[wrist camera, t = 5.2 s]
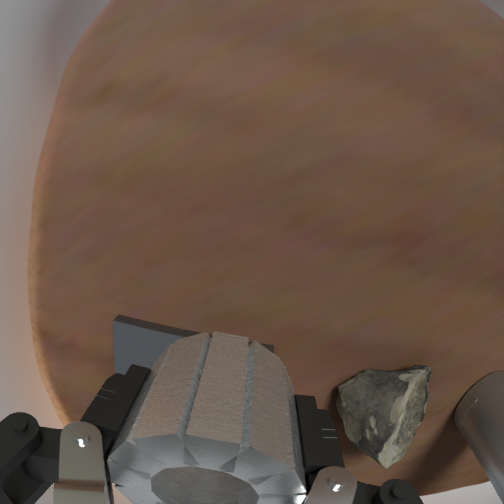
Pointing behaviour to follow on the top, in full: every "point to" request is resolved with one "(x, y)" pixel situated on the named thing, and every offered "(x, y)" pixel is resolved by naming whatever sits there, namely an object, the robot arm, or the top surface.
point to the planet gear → (212, 428)
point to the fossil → (384, 410)
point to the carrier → (145, 342)
